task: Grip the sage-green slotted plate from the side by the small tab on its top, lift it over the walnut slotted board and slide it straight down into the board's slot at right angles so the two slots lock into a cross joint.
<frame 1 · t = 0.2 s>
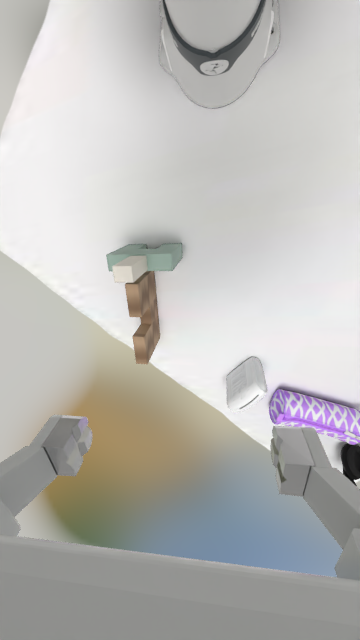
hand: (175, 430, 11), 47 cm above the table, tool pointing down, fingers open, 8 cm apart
walnut slotted board: (152, 305, 61), on the table
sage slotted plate: (155, 250, 55), on the table
pencil case: (309, 403, 66), on the table
photo printer: (243, 369, 65), on the table
headphones: (359, 439, 69), on the table
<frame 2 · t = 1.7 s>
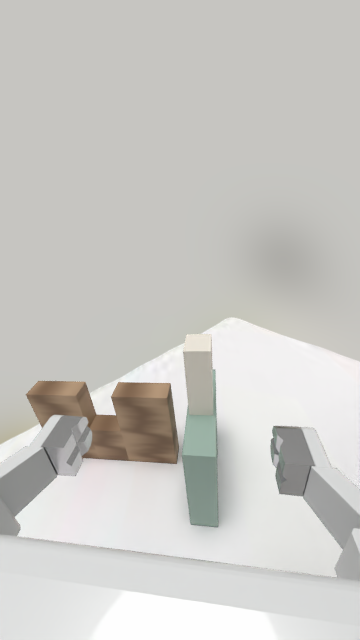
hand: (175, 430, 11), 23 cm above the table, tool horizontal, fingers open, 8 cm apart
walnut slotted board: (116, 451, 36), on the table
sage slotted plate: (205, 471, 32), on the table
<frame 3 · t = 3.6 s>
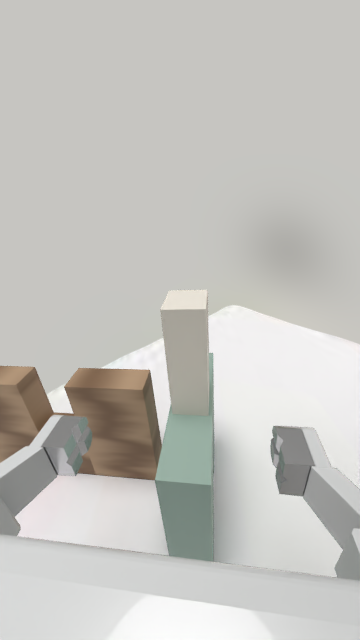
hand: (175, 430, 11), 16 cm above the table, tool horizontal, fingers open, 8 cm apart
walnut slotted board: (81, 461, 27), on the table
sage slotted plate: (197, 492, 24), on the table
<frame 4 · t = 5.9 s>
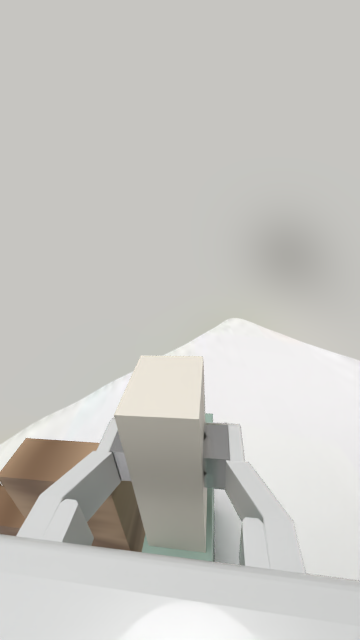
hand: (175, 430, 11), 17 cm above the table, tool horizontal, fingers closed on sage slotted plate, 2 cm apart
walnut slotted board: (41, 544, 21), on the table
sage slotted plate: (192, 602, 17), on the table, touching gripper
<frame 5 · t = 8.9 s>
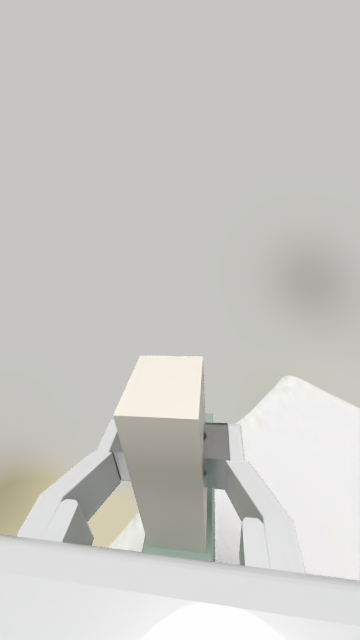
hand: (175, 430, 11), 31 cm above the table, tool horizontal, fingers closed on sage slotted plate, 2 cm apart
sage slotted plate: (193, 603, 17), point 15 cm above the table, touching gripper
when the fingers open (17 cm above the table, at t = 12.1 s): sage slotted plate stays where it is, on the table.
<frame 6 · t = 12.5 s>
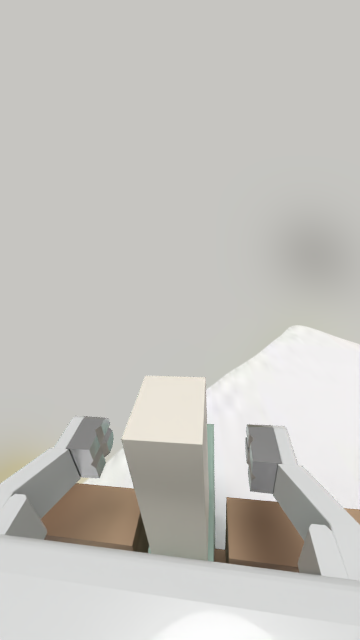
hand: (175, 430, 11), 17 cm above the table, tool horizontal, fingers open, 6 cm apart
walnut slotted board: (193, 607, 18), on the table
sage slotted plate: (193, 608, 18), on the table
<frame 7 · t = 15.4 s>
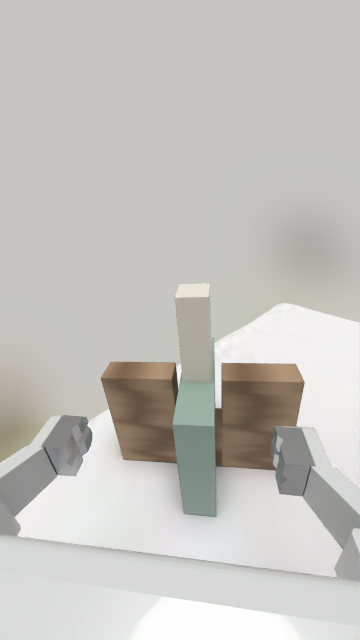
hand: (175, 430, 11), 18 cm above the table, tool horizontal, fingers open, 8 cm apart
walnut slotted board: (202, 454, 28), on the table
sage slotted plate: (202, 454, 28), on the table
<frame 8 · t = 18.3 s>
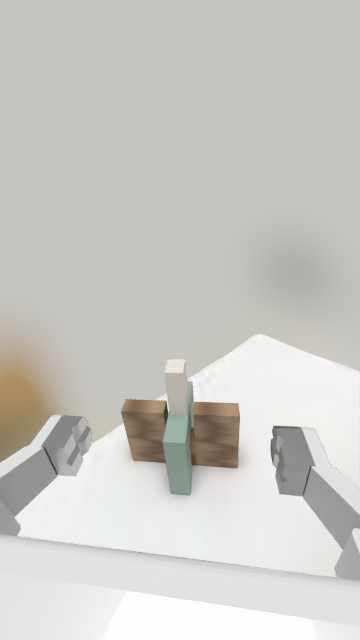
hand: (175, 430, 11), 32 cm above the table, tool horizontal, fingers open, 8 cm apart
walnut slotted board: (184, 457, 43), on the table
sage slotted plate: (184, 457, 43), on the table
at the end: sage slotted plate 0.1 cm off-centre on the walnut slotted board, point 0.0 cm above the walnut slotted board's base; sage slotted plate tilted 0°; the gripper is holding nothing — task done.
